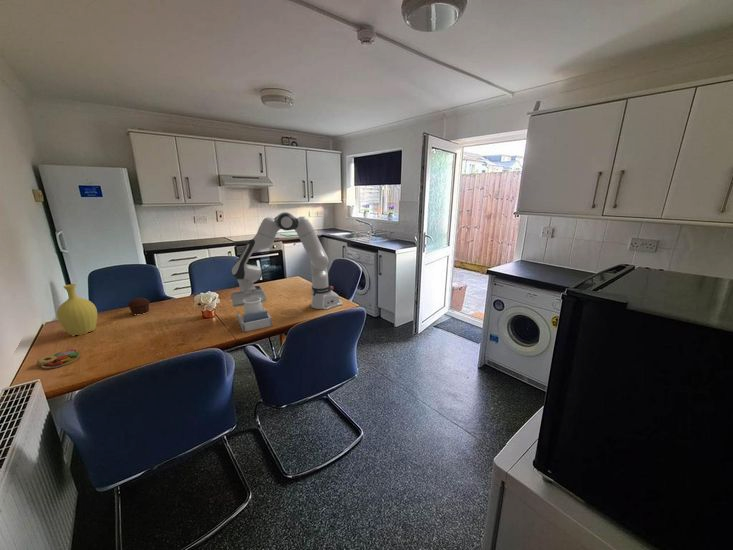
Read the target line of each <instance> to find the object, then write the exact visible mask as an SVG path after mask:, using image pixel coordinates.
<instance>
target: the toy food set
mask: <svg viewBox="0 0 733 550" xmlns="http://www.w3.org/2000/svg"><path fill="white" fill-rule="evenodd" d="M79 357H80V352H79V351H77V350H76V349H68V350H66V351H64V352H57V353H54V355H47V356H43V357H40V358H38V359H37V361H36V365H37V366H40V367H41V368H43V369H57V368H60V367H64V366H67V365H70V364H71V362H72V363H74V362H75V361H77V359H79ZM74 360H75V361H74ZM73 361H74V362H73ZM69 363H70V364H69ZM66 364H67V365H66Z"/></svg>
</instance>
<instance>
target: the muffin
mask: <svg viewBox="0 0 733 550" xmlns="http://www.w3.org/2000/svg"><path fill="white" fill-rule="evenodd" d="M150 302H151V301H150V300H149V299H148V298H145V297H137V298H133V299H130V301H129V303H127V307H128V308H129V309H130V312H131V314H132V315H133V314H136V315H137V314H143V313H146V312H148V311H149V312H150ZM149 312H148V313H149ZM146 314H147V313H146ZM143 315H144V314H143Z"/></svg>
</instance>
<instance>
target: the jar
mask: <svg viewBox="0 0 733 550" xmlns="http://www.w3.org/2000/svg"><path fill="white" fill-rule="evenodd" d="M243 303H244V305H243V311H244V314H249V313H255V312H260V311H263V303H262V302H261V298H260V297H249V298H246V299H244V300H243Z"/></svg>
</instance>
